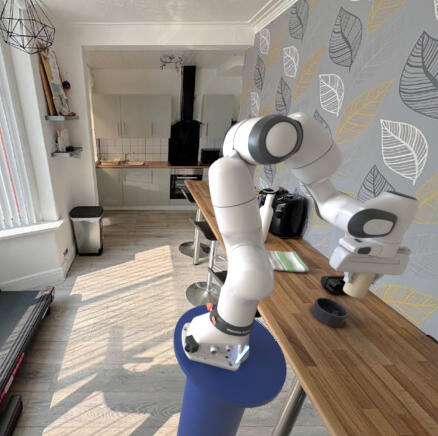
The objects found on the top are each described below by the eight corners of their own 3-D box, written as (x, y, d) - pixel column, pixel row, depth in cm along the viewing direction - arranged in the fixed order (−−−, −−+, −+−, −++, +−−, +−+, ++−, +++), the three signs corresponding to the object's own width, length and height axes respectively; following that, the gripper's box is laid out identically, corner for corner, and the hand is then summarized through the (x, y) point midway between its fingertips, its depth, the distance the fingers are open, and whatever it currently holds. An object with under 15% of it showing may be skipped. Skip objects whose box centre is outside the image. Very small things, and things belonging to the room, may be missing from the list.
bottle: (256, 235, 154) (267, 192, 142) (267, 240, 149) (280, 195, 137) (249, 239, 150) (260, 194, 138) (261, 244, 144) (274, 198, 132)
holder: (321, 326, 88) (326, 316, 86) (306, 306, 97) (310, 296, 95) (349, 328, 88) (355, 318, 86) (331, 307, 97) (335, 298, 95)
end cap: (337, 284, 111) (342, 272, 109) (350, 294, 105) (356, 282, 102) (317, 284, 110) (322, 272, 108) (329, 295, 104) (335, 283, 101)
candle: (349, 297, 75) (362, 271, 71) (339, 286, 80) (350, 261, 76) (368, 299, 74) (382, 273, 70) (356, 288, 79) (369, 263, 75)
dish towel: (309, 274, 118) (311, 268, 116) (261, 269, 119) (263, 264, 118) (293, 255, 133) (294, 250, 132) (251, 252, 135) (252, 246, 134)
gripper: (402, 241, 72) (383, 278, 78) (334, 238, 73) (319, 274, 78) (423, 252, 66) (400, 291, 72) (349, 248, 67) (332, 286, 73)
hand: (358, 282), depth 75 cm, fingers closed on candle, 5 cm apart
